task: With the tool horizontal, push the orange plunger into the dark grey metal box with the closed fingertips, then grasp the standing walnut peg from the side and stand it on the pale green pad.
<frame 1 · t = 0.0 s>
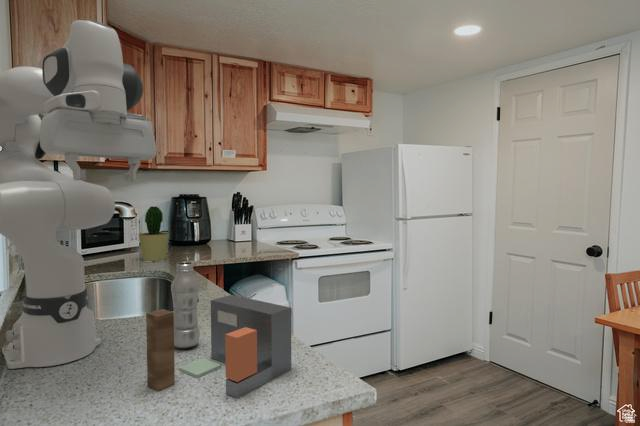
hand: (106, 180, 78), 39 cm above the countertop, tool pointing down, fingers open, 8 cm apart
potted cactus: (154, 261, 222), on the countertop
peg: (161, 385, 78), on the countertop
plastic bottle: (185, 347, 98), on the countertop
pad: (200, 368, 86), on the countertop
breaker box: (250, 363, 88), on the countertop
plunger: (241, 353, 76), point 7 cm above the countertop, slide at 0.0 cm
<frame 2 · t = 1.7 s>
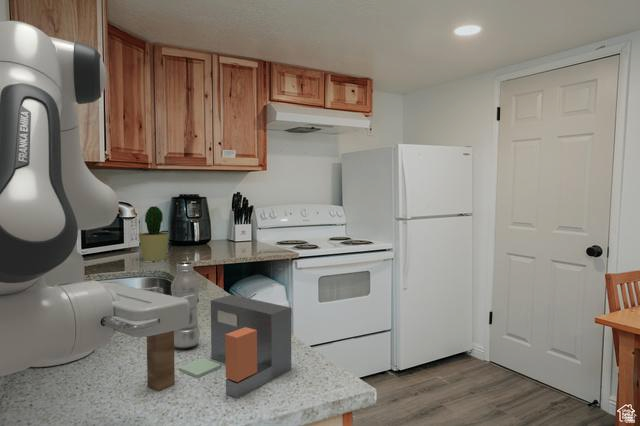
hand: (177, 295, 64), 21 cm above the countertop, tool horizontal, fingers open, 7 cm apart
nothing on the countertop moved.
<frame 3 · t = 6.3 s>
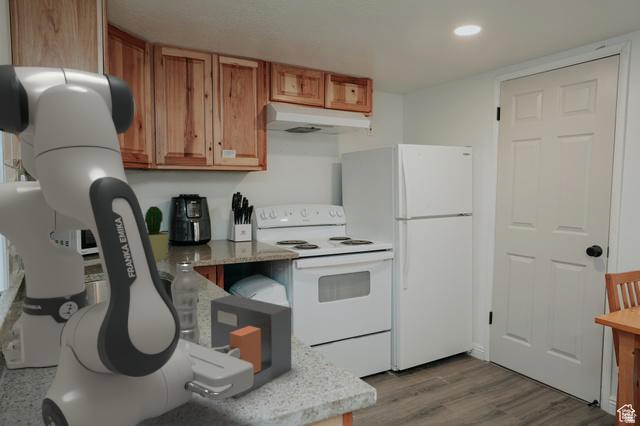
hand: (235, 351, 74), 8 cm above the countertop, tool horizontal, fingers closed, pressing on plunger
plunger: (245, 351, 77), point 7 cm above the countertop, slide at 1.0 cm, touching gripper
everything else where it was.
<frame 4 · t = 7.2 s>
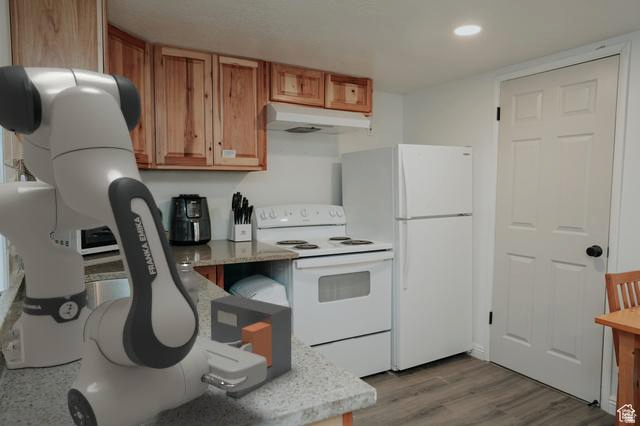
hand: (247, 346, 77), 8 cm above the countertop, tool horizontal, fingers closed, pressing on plunger
plunger: (256, 347, 79), point 7 cm above the countertop, slide at 4.0 cm, touching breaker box, gripper
everything else where it was.
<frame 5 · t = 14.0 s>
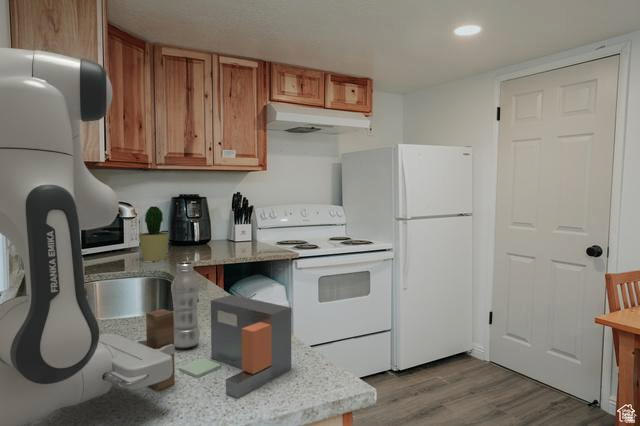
hand: (164, 344, 79), 8 cm above the countertop, tool horizontal, fingers closed on peg, 3 cm apart
peg: (161, 385, 78), on the countertop, touching gripper
plunger: (256, 347, 79), point 7 cm above the countertop, slide at 4.0 cm, touching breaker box
everything else where it was.
when the fingers open (9 cm above the countertop, at t = 18.0 s): peg stays where it is, resting on pad.
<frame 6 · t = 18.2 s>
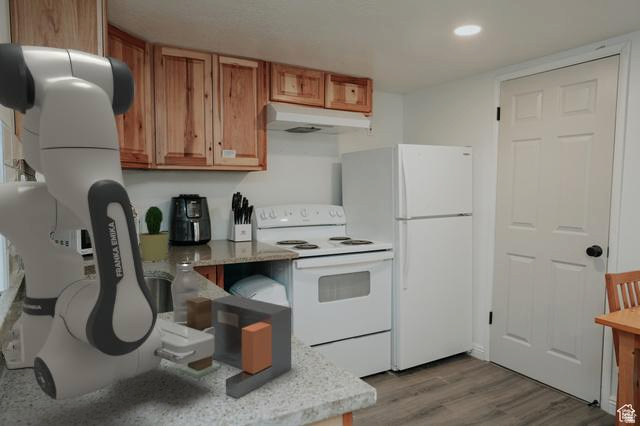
hand: (203, 327, 86), 9 cm above the countertop, tool horizontal, fingers open, 5 cm apart
peg: (199, 366, 85), point 1 cm above the countertop, touching pad
everything else where it was.
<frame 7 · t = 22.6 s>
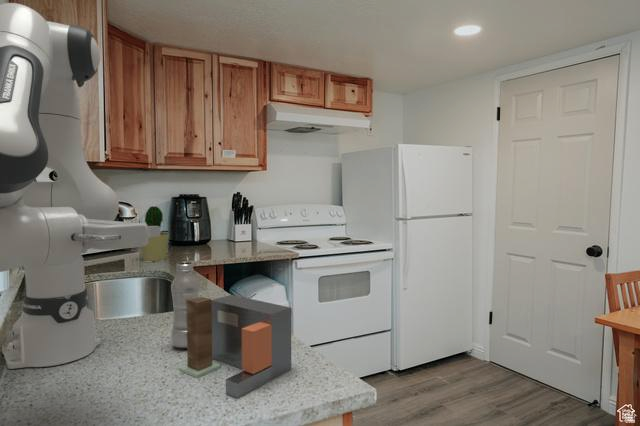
hand: (142, 229, 74), 30 cm above the countertop, tool horizontal, fingers open, 8 cm apart
nothing on the countertop moved.
at the end: plunger slide at 4.0 cm; peg inside the target area on the pad (0.0 cm from its centre), point 0.6 cm above the pad's base; peg tilted 0° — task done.
